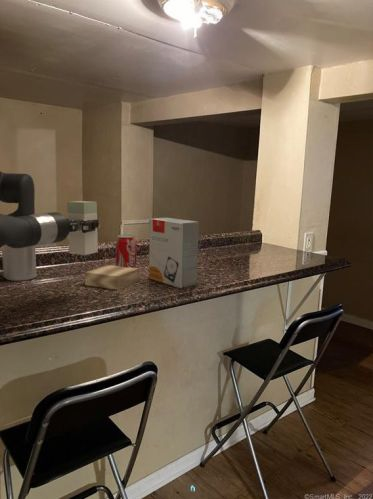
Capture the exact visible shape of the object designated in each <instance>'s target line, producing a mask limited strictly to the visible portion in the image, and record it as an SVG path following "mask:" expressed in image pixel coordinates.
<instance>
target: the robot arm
mask: <svg viewBox="0 0 373 499" xmlns="http://www.w3.org/2000/svg"><path fill="white" fill-rule="evenodd" d="M35 190H36V189H35V182H34V180H33V177H32V175H30V174H27V173H15V172H14V173H6V172H3V171H0V202H1V203H5V204H17V208H16V209H15V210H14V211H13V212H11V213H9V214H3V213H0V249H1V248H2V249H1V254H2V256H1V257H2V270H3V278H5V279H6V280H9V281H27V280H32V279H35V278H37V261H36V260H37V258H36V257H37V256H36V247H37V246H38V247H41V246H45V245H51V244H56V243H61V242H63V241H65V240H66V239H67V238H68V234H74V233H80V232H82V233H87V232H91V231H95V228H97V229H98V228H99V226H100V222H99V221H100V220H99V219H97V220H86V221H84V220H83V219H68V217H65V216H64V215H63V214H62V213H61V212H57V211H56V212H55V211H53V212H43V213H42V212H41V213H35V210H36V208H35V200H36V198H35V194H36V192H35ZM78 221H79V225H78ZM78 229H79V230H78Z"/></svg>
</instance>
